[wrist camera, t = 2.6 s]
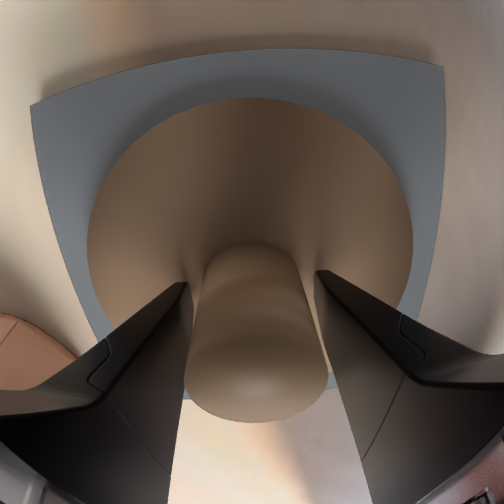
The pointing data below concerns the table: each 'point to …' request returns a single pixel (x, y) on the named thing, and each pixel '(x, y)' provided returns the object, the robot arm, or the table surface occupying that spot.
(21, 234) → the table surface
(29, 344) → the bowl
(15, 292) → the table surface
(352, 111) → the mat
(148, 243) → the lid
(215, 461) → the table surface
